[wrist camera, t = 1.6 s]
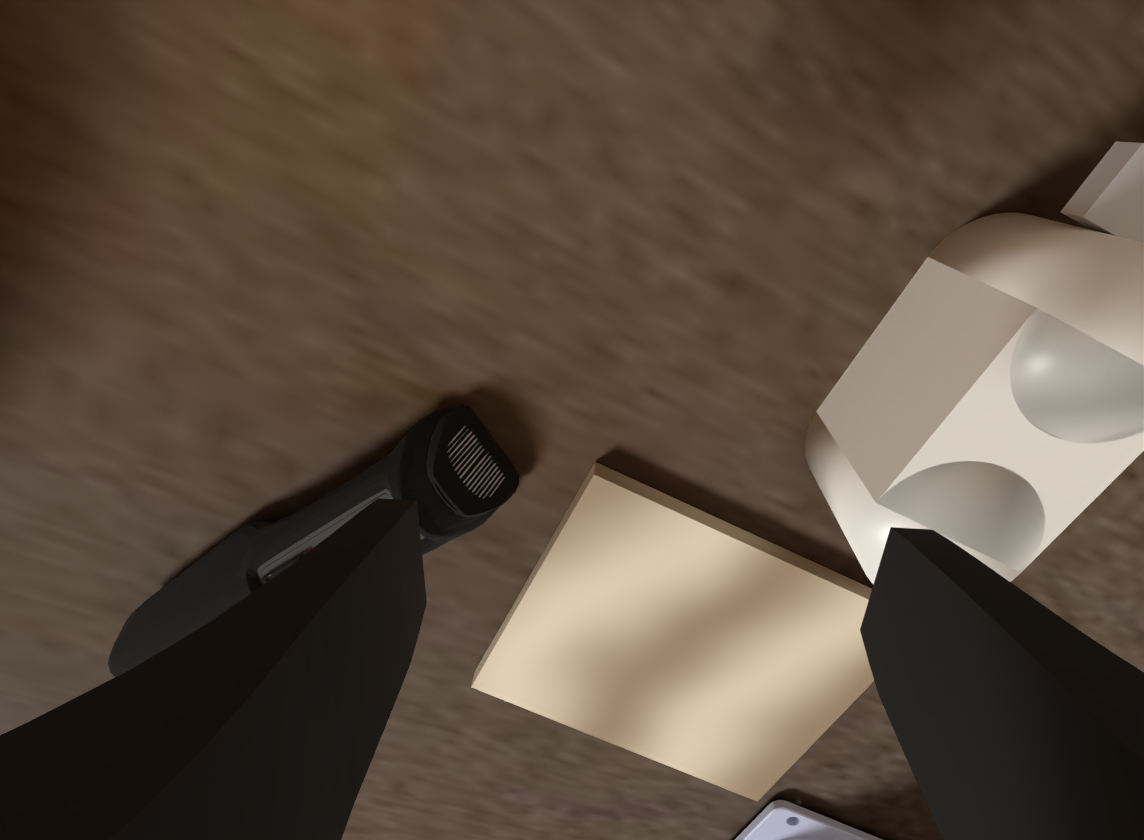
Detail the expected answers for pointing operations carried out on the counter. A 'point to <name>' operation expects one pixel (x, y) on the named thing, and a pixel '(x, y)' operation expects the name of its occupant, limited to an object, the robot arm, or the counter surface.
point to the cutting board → (680, 637)
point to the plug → (997, 382)
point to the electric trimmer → (332, 527)
